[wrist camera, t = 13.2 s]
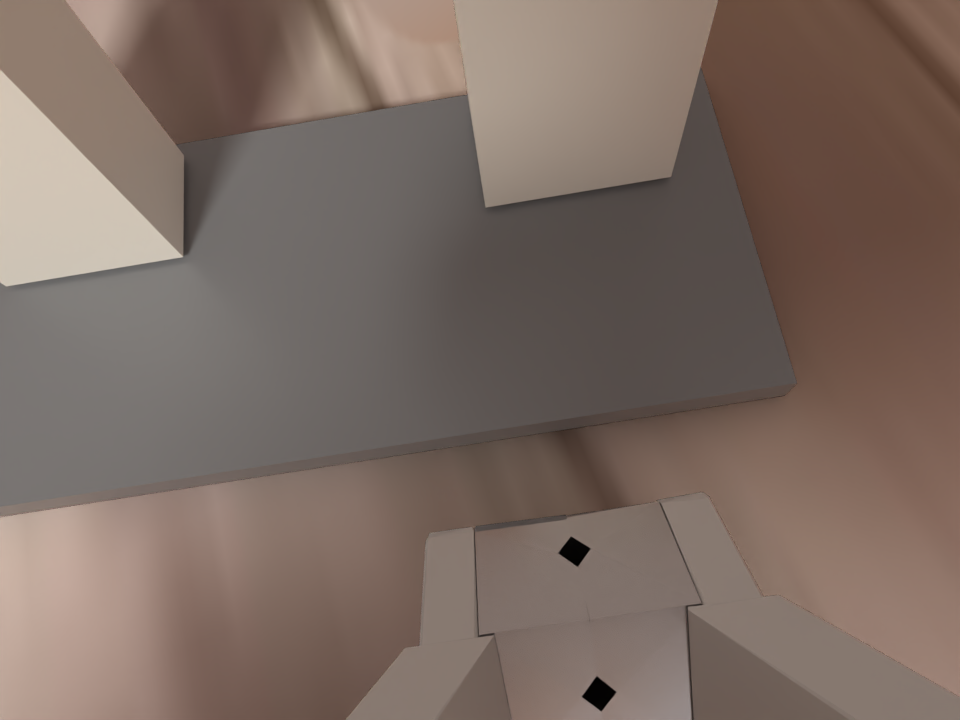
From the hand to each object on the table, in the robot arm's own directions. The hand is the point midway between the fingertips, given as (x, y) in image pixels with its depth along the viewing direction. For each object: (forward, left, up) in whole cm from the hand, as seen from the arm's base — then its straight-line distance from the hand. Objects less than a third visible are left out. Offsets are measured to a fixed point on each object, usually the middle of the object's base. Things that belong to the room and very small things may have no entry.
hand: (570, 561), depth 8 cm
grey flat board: (+11, +13, -14) cm, 22 cm away
